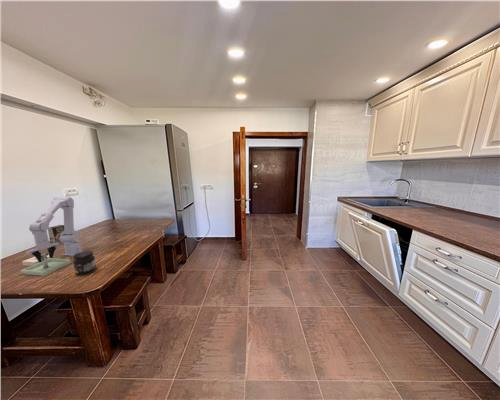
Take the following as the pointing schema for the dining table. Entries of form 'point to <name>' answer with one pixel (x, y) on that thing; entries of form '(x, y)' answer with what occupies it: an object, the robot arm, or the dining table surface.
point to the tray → (41, 271)
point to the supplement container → (84, 262)
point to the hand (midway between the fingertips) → (45, 259)
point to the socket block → (32, 261)
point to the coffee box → (55, 234)
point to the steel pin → (44, 260)
